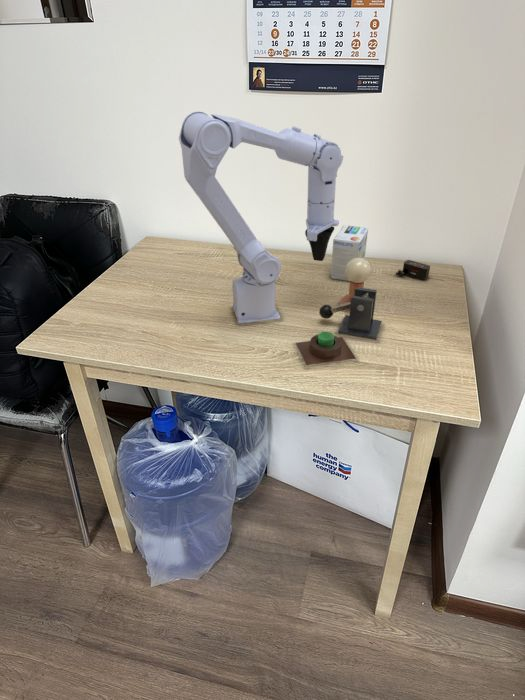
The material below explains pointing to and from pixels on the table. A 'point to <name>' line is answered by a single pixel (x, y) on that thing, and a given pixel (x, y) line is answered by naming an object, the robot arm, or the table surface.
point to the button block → (324, 351)
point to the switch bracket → (361, 316)
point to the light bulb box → (347, 249)
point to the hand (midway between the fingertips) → (318, 259)
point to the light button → (325, 339)
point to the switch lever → (336, 308)
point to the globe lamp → (356, 276)
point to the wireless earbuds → (415, 270)
